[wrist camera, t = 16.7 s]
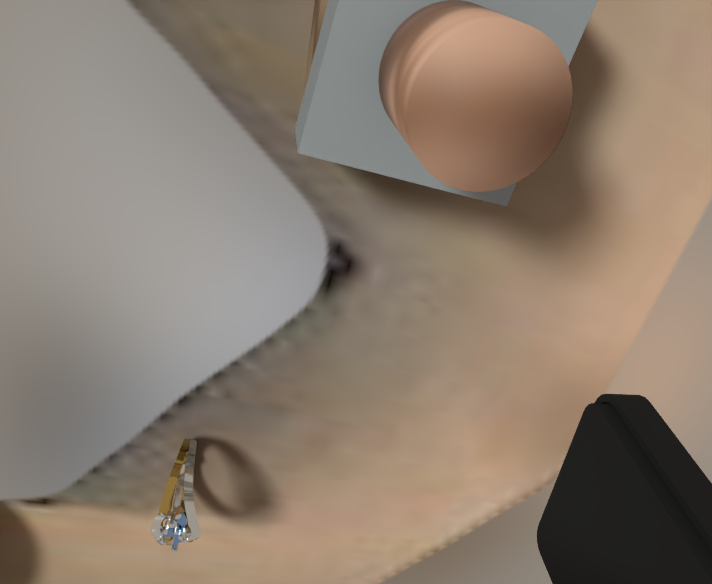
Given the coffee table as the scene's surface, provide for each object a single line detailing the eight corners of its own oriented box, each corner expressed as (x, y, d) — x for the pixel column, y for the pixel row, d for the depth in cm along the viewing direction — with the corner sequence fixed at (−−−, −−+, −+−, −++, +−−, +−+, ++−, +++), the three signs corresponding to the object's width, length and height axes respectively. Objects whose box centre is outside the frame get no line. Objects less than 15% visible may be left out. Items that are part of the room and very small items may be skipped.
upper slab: (356, -107, 29) (367, -109, 26) (570, -29, 32) (607, -22, 28) (295, 128, 34) (297, 153, 31) (484, 179, 37) (506, 206, 33)
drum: (399, -16, 27) (435, 1, 22) (535, 18, 29) (599, 41, 24) (363, 132, 30) (388, 177, 25) (489, 156, 32) (537, 203, 27)
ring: (173, 413, 47) (157, 499, 40) (218, 420, 48) (209, 505, 41) (159, 482, 50) (141, 572, 43) (201, 487, 51) (190, 577, 44)
